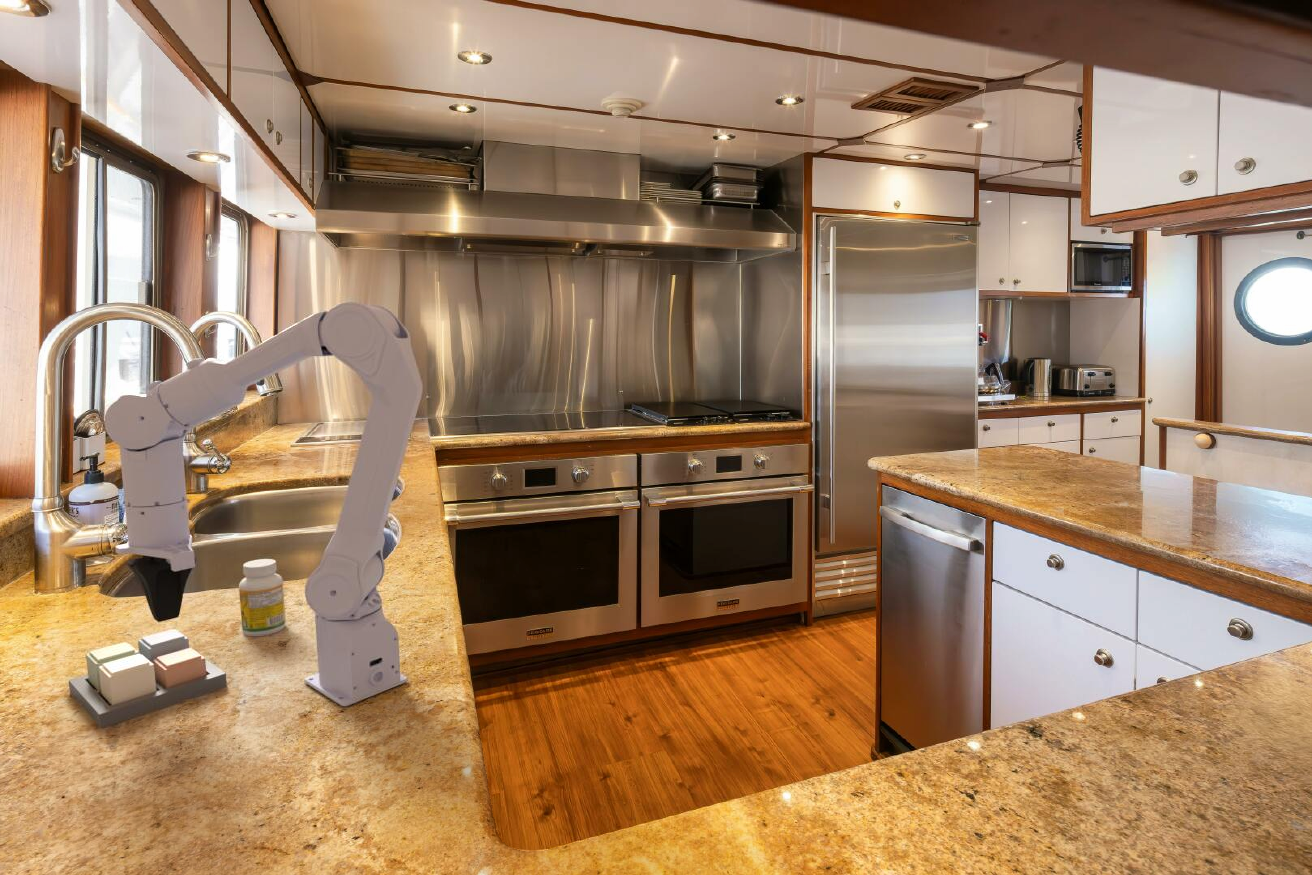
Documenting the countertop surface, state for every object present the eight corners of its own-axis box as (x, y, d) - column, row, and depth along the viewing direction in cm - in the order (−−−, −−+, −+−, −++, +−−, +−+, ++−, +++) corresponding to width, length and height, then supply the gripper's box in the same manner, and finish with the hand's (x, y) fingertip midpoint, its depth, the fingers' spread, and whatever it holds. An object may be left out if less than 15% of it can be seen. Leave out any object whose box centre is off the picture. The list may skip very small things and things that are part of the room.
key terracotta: (207, 684, 84) (204, 655, 83) (167, 697, 81) (164, 667, 80) (194, 674, 86) (192, 646, 86) (155, 686, 83) (152, 657, 83)
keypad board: (226, 686, 84) (225, 673, 84) (100, 728, 75) (99, 714, 75) (188, 657, 92) (187, 645, 91) (69, 693, 82) (68, 679, 82)
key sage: (141, 678, 83) (138, 649, 82) (98, 691, 80) (95, 661, 79) (130, 668, 85) (127, 640, 85) (88, 680, 82) (85, 651, 82)
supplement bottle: (281, 634, 99) (277, 567, 97) (237, 639, 97) (232, 570, 96) (289, 620, 104) (284, 555, 103) (247, 624, 102) (242, 558, 101)
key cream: (156, 691, 80) (153, 661, 79) (112, 705, 77) (109, 674, 76) (144, 681, 82) (141, 651, 82) (101, 694, 79) (98, 664, 79)
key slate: (190, 663, 87) (188, 635, 86) (151, 675, 84) (148, 646, 83) (178, 654, 89) (176, 627, 89) (140, 665, 86) (137, 637, 86)
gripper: (93, 498, 82) (104, 612, 84) (135, 518, 73) (146, 646, 75) (165, 488, 87) (174, 596, 89) (212, 506, 78) (221, 626, 80)
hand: (166, 618), depth 82 cm, fingers closed
